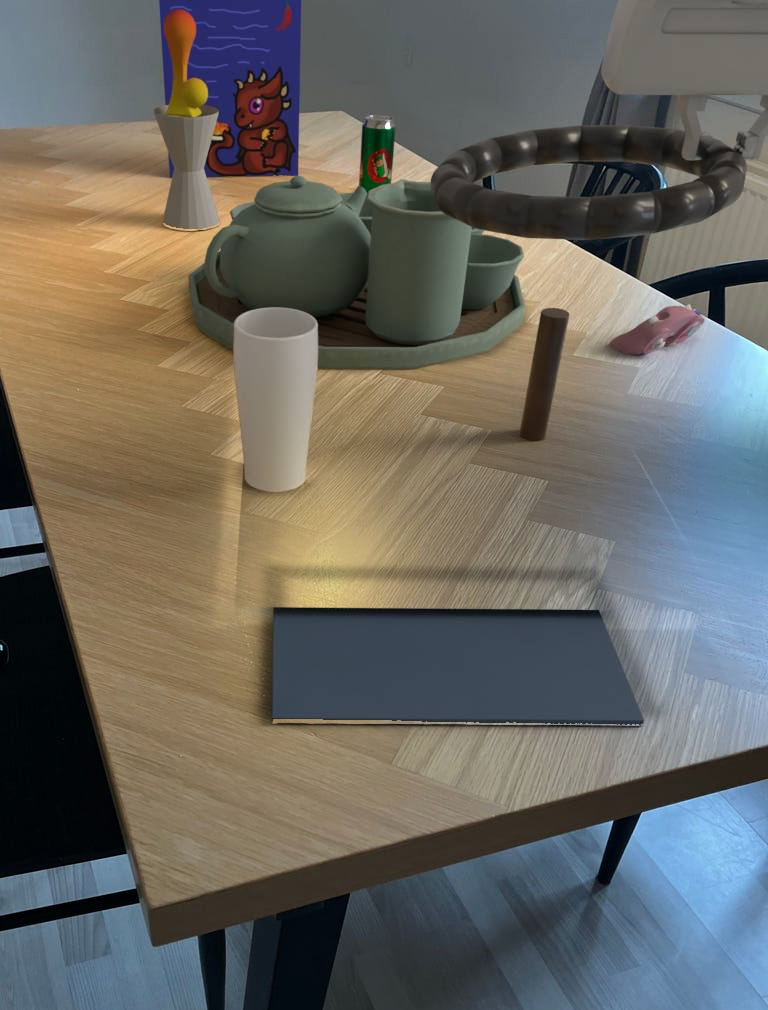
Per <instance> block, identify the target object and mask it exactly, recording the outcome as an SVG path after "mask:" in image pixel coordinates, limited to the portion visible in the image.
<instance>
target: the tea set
mask: <svg viewBox="0 0 768 1010" xmlns="http://www.w3.org/2000/svg"><path fill="white" fill-rule="evenodd" d="M430 182H431V181H415V180H409V179H401V178H400V179H399V180H397V181H394V182H393V183H392V182H391V184H385V185H381V186H379V187H377V188H374V189H372V190H370V191H369V192H368V193H367V192H366V190H365V189H364V188H363V187H361V186H359V185H357V187H356V189H355V190H354V191H353V192H341V193H339V192H338V190H337V189H336V188H334V187H333V186H330V185H327V184H325V183H323V182H316V181H309V180H307V179H306V178H305V177H304V176H302V175H298V176H292V178H291V179H290V180H285V181H277V182H273V183H270V184H268V185H265V186H262V187H261V188H260V189H259V190H258V191H257V192H256V195H255V196H254V198H253V200H254V201H250V202H245V203H241V204H238V205H236V206H235V207H234V208H233V209H231V210H230V211H229V214H230V217H231V222H230V223H229V225H227V226H224V227H221V229H220V230H218V232H217V233H216V234H215V235H214V236H213V237H212V239H211V241H210V243H209V245H208V246H207V249H206V253H205V258H204V263H202V264H201V265H199V266H198V268H196V269H195V270H193V271H192V272H190V273H189V274H188V279H187V280H188V292H189V299H190V304H191V310H192V314H193V320H194V323H195V325H196V327H197V328H198V331H199V332H201V333H202V334H205V335H206V336H208V337H209V338H211V339H212V340H214V341H216V342H218V343H219V344H221V345H222V346H224V347H226V348H227V349H229V350H230V351H232V352H233V337H234V321H235V320H236V318H237V317H238V316H240V315H241V314H243V313H245V312H248V311H251V310H255V309H260V308H269V307H281V308H290V309H296V310H300V311H303V312H306V313H308V314H310V315H311V316H313V317H314V318H315V319H316V320H317V322H318V369H320V370H413V371H414V370H418V369H422V368H427V367H430V366H435V365H439V364H443V363H448V362H453V361H457V360H461V359H465V358H470V357H473V356H477V355H482V354H486V353H488V352H489V351H490V350H492V349H493V348H494V347H495V346H497V345H498V344H499V343H501V342H502V341H503V340H505V339H506V338H507V337H508V336H510V335H511V334H512V333H513V332H515V331H516V330H517V329H518V328H519V327H521V326H522V325H523V323H524V318H525V313H526V304H525V301H524V296H523V291H522V287H521V283H520V278H519V276H518V275H516V271H517V269H518V267H519V265H520V263H521V262H522V261H523V259H524V258H525V253H524V250H523V247H522V246H521V245H519V244H517V243H516V242H513V241H511V240H510V239H506V238H503V237H499V236H496V235H490V234H483V233H484V232H485V230H480V229H476V228H473V227H471V226H469V225H467V224H465V223H463V222H461V221H458V220H456V219H454V218H452V217H450V216H448V215H446V214H444V213H443V212H442V211H441V210H440V209H439V207H438V205H437V202H436V200H435V198H434V195H433V193H432V190H431V184H430Z"/></svg>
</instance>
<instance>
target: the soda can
mask: <svg viewBox="0 0 768 1010" xmlns="http://www.w3.org/2000/svg"><path fill="white" fill-rule="evenodd" d="M394 120H395V119H394V117H393V116H391V115H385V114H371V115H366V116H365V117H364V121H363V123H362V125H361V139H360V157H359V158H360V159H359V161H360V162H359V173H358V174H359V175H358V176H359V177H358V186H361V187H363V188H364V189H365V190H366V192H367V193H368V192H369V191H370V190H372V189H374V188H377V187H379V186H381V185H385V184H392V179H393V166H394V165H393V164H394V153H395V139H396V127H397V126H396V125H395V122H394Z"/></svg>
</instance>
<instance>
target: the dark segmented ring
mask: <svg viewBox="0 0 768 1010" xmlns="http://www.w3.org/2000/svg"><path fill="white" fill-rule="evenodd" d="M685 135H686V131H685V130H682V129H676V128H667V127H657V126H645V125H637V124H635V125H634V124H582V125H581V124H580V125H569V126H559V127H547V128H538V129H529V130H524V131H521V132H520V131H519V132H514V133H510V134H505V135H500V136H496V137H495V136H494V137H491V138H486V139H483V140H481V141H479V142H476V143H473V144H471V145H468V146H466V147H463V148H461V149H458V150H455V151H454V152H452V153H450V155H448V157H447V158H445V160H444V161H443V162H441V163H440V165H439V166H437V168H435V170H434V171H433V173H432V175H431V176H430V177H431V178H430V181H429V182H430V184H431V190H432V193H433V195H434V198H435V200H436V202H437V205H438V207H439V209H440V210H441V211H442V212H443V213H444V214H446V215H448V216H450V217H452V218H454V219H456V220H458V221H461V222H463V223H465V224H467V225H469V226H471V227H473V228H476V229H480V230H484V232H485V231H486V232H491V233H497V234H502V235H507V236H513V237H518V238H523V239H539V240H541V239H543V240H569V241H570V240H573V241H593V240H594V241H595V240H607V239H615V238H616V239H617V238H627V237H637V236H648V235H653V234H657V233H662V232H666V231H669V230H673V229H677V228H681V227H686V226H689V225H694V224H698V223H701V222H704V220H707V219H709V218H711V217H712V216H714V215H717V213H719V212H721V211H723V210H725V209H727V208H728V207H730V206H731V205H733V204H735V202H736V201H738V200H739V198H740V197H741V195H742V193H743V191H744V187H745V183H746V177H747V172H748V165H747V162H746V161H747V160H745V159H744V157H743V156H742V155H741V154H739V153H738V152H736V151H735V150H733V149H734V148H732V147H731V146H729V145H727V144H726V143H724V142H723V141H722V140H720V139H718V138H713V137H712V141H711V145H710V147H709V148H708V152H709V153H708V157H707V158H706V160H685V159H684V158H683V157H682V148H683V144H684V140H685ZM575 162H601V163H602V162H607V163H609V162H610V163H611V162H615V163H616V162H618V163H632V164H639V165H649V166H656V167H665V168H669V169H673V170H677V171H679V172H683V173H687V174H690V175H693V176H696V177H698V178H696V179H694V180H692V181H689V182H688V181H687V182H684V183H680V184H676V185H671V186H667V187H662V188H658V189H654V190H650V191H642V192H633V193H631V192H630V193H621V194H619V193H618V194H609V195H608V194H607V195H599V196H557V195H556V196H555V195H551V196H550V195H530V194H523V193H517V192H510V191H504V190H498V189H497V190H496V189H490V188H487V187H485V186H482V185H481V184H478V183H476V182H479V181H480V180H482V179H485V178H488V177H489V176H492V175H495V174H500V173H504V172H508V171H509V172H510V171H514V170H519V169H523V168H527V167H533V166H543V165H553V164H564V163H575Z"/></svg>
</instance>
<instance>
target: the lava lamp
mask: <svg viewBox="0 0 768 1010" xmlns="http://www.w3.org/2000/svg"><path fill="white" fill-rule="evenodd" d="M164 33H165V37H166V40H167V43H168V46H169V49H170V54H171V59H172V63H173V87H172V95H171V99H170V102H169V105H161V106H157V107H156V108H154V109H153V113H154V117H155V119H156V123H157V126H158V127H159V131H160V134H161V136H162V139H163V141H164V144H165V147H166V149H167V152H169V155H170V158H171V161H172V163H173V166H174V172H173V176H172V178H171V181H170V186H169V189H168V190H169V191H168V194H167V200H166V204H165V209H164V213H163V217H162V222H163V223H165V224H166V225H169V226H171V227H176V228H183V229H203V228H208V227H211V226H215V225H217V224H218V223H219V222H221V219H220V217H219V213H218V209H217V206H216V203H215V200H214V197H213V193H212V191H211V187H210V184H209V181H208V177H206V174H205V171H204V166H205V162H206V158H207V154H208V151H209V147H210V143H211V140H212V136H213V132H214V129H215V125H216V121H217V117H218V113H219V110H218V109H217V108H215V107H212V106H208V105H204V104H205V102H206V101H207V98H208V89H207V86H206V84H205V83H204V82H203V81H202V80H200V79H198V78H191V79H189V80H187V63H188V59H189V54H190V50H191V47H192V44H193V41H194V38H195V35H196V24H195V21H194V19H193V17H192V16H191V15H190V14H189V13H188V12H186V11H184V10H180V9H178V10H174V11H172V12H170V13H169V14H168V15H167V17H166V19H165V22H164ZM163 223H162V224H163Z"/></svg>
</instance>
